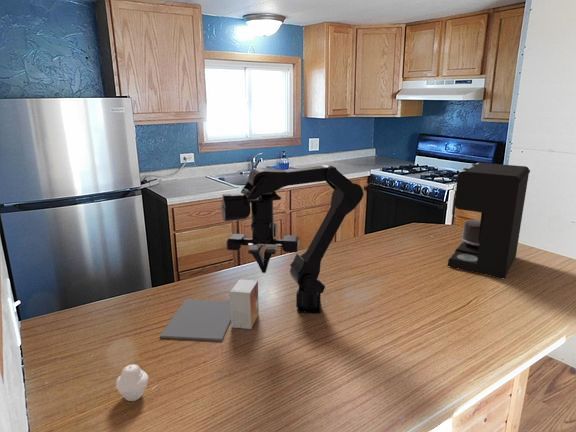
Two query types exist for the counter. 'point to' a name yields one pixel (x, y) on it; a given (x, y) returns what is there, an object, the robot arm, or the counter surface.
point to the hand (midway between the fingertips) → (264, 272)
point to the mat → (199, 320)
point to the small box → (244, 304)
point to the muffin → (132, 382)
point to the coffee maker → (490, 217)
